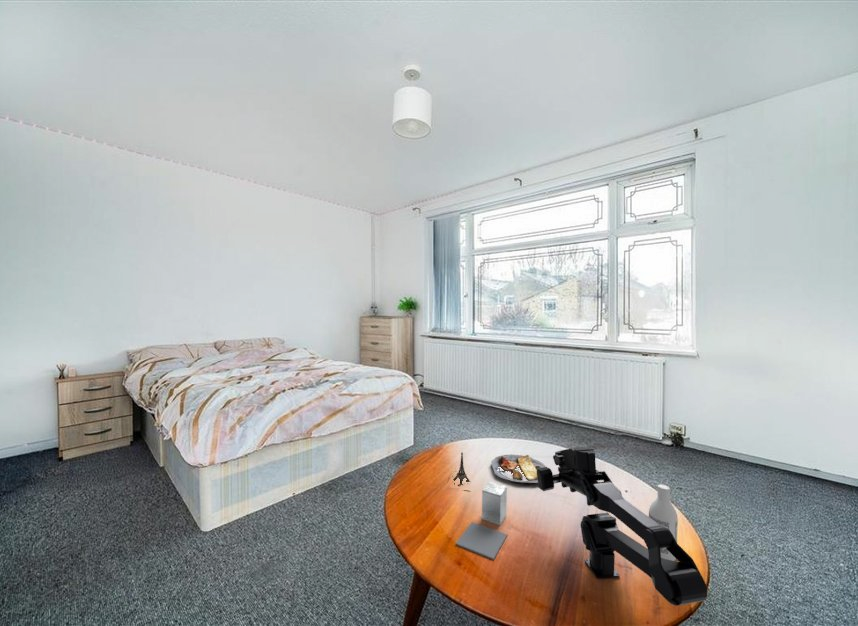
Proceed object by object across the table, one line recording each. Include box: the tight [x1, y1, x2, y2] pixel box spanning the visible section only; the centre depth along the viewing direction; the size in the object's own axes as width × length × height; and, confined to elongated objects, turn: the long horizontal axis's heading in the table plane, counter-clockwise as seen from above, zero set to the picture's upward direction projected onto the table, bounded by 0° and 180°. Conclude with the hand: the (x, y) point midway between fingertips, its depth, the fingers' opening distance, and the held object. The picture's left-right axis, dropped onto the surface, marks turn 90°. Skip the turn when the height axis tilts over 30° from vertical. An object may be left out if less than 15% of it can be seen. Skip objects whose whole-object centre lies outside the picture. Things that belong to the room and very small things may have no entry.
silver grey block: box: [481, 481, 508, 526], centre depth 118 cm, size 6×6×10 cm
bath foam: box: [648, 483, 679, 561], centre depth 101 cm, size 7×7×20 cm
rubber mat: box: [455, 521, 508, 561], centre depth 106 cm, size 12×12×1 cm
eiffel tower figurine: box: [453, 452, 471, 486], centre depth 142 cm, size 15×10×13 cm
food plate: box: [490, 454, 546, 484], centre depth 151 cm, size 25×23×4 cm
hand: (549, 467), depth 119 cm, fingers open, 9 cm apart
